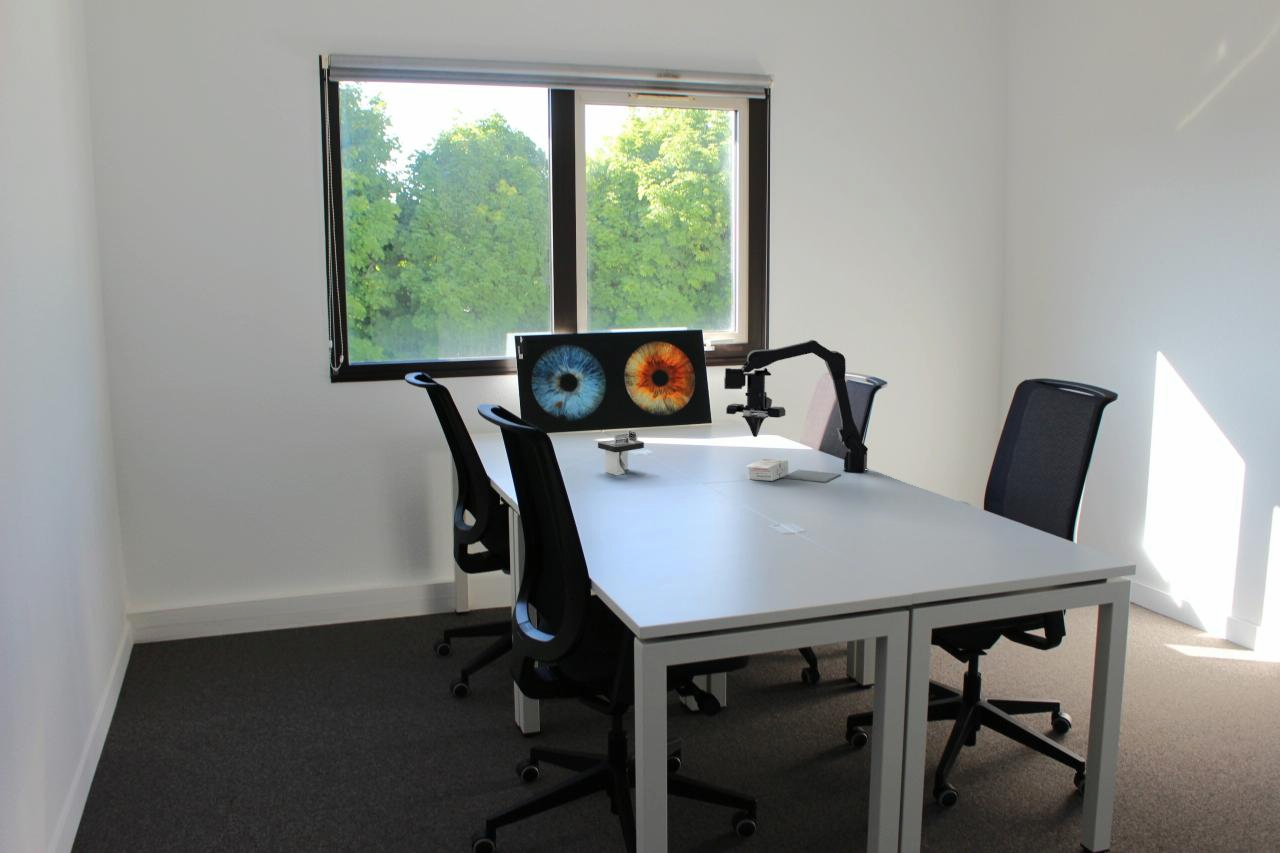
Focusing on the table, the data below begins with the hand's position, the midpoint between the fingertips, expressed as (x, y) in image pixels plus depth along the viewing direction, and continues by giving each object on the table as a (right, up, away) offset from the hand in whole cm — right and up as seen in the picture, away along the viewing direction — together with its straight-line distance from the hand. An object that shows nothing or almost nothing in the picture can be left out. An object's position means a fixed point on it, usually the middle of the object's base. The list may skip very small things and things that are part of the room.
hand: (755, 436), depth 355 cm
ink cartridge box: (+6, -10, -5) cm, 13 cm away
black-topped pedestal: (-43, -12, -1) cm, 45 cm away
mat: (+17, -13, -8) cm, 23 cm away
